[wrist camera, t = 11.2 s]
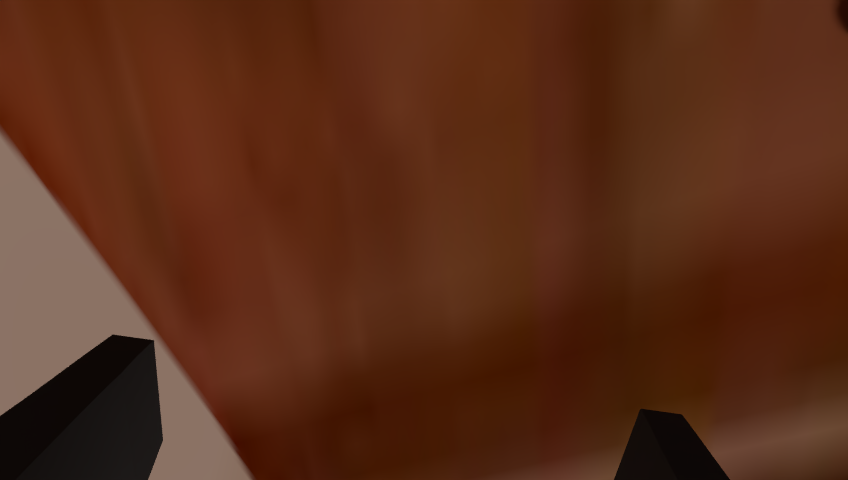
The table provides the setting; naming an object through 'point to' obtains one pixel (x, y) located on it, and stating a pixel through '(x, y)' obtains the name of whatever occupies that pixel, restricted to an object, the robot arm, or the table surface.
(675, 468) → the robot arm
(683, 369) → the table surface
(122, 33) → the table surface
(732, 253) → the table surface
